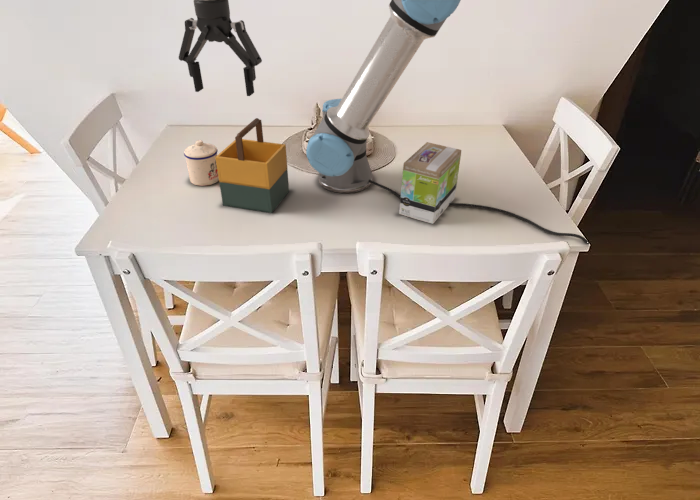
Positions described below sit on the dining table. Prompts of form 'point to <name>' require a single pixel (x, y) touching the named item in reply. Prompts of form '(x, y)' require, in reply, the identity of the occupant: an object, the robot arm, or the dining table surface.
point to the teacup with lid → (202, 163)
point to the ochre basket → (252, 160)
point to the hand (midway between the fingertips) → (224, 92)
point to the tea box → (429, 182)
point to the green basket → (255, 195)
